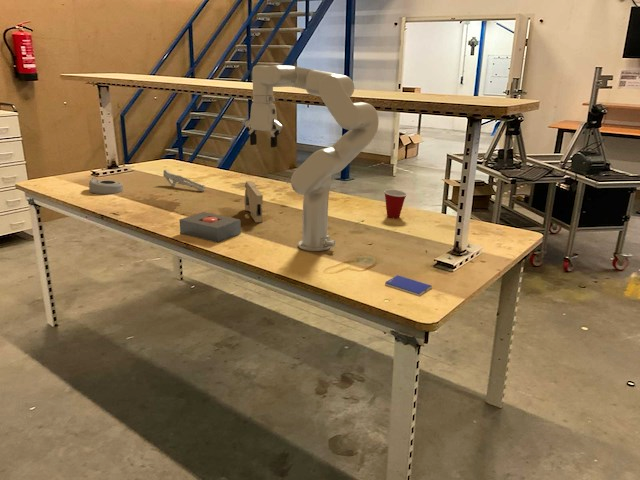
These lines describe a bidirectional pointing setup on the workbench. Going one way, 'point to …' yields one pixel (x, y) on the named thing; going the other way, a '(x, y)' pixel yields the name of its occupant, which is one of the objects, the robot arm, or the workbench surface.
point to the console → (210, 227)
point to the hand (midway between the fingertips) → (263, 145)
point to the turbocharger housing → (105, 186)
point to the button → (210, 219)
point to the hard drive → (408, 285)
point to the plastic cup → (394, 202)
